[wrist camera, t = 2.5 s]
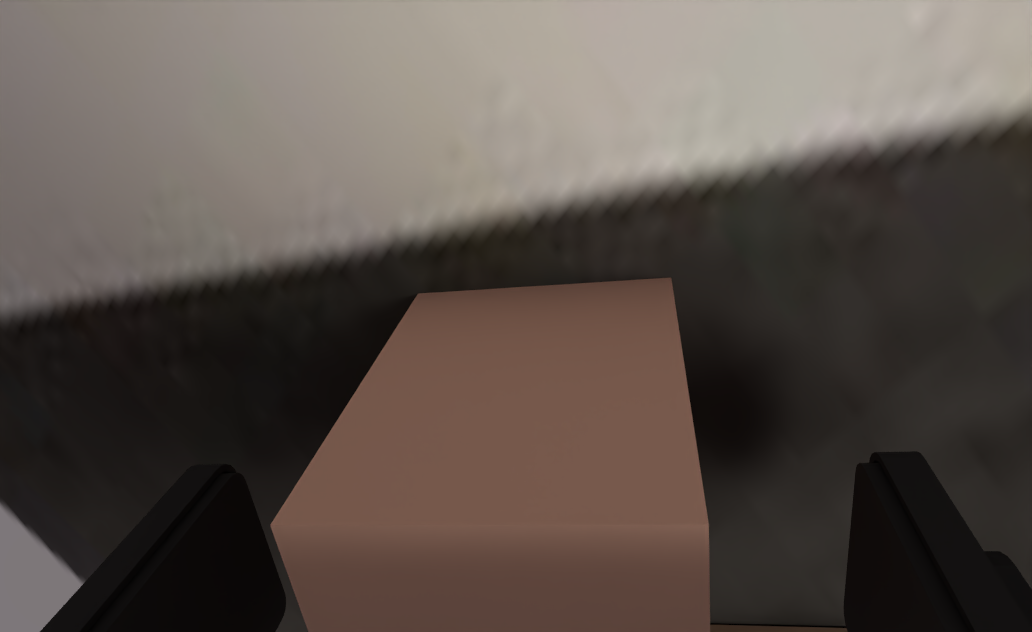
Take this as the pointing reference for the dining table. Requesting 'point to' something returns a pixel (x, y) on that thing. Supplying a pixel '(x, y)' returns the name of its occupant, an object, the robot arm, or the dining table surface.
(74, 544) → the dining table surface
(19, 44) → the dining table surface
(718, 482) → the dining table surface
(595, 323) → the terracotta block
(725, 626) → the walnut base
